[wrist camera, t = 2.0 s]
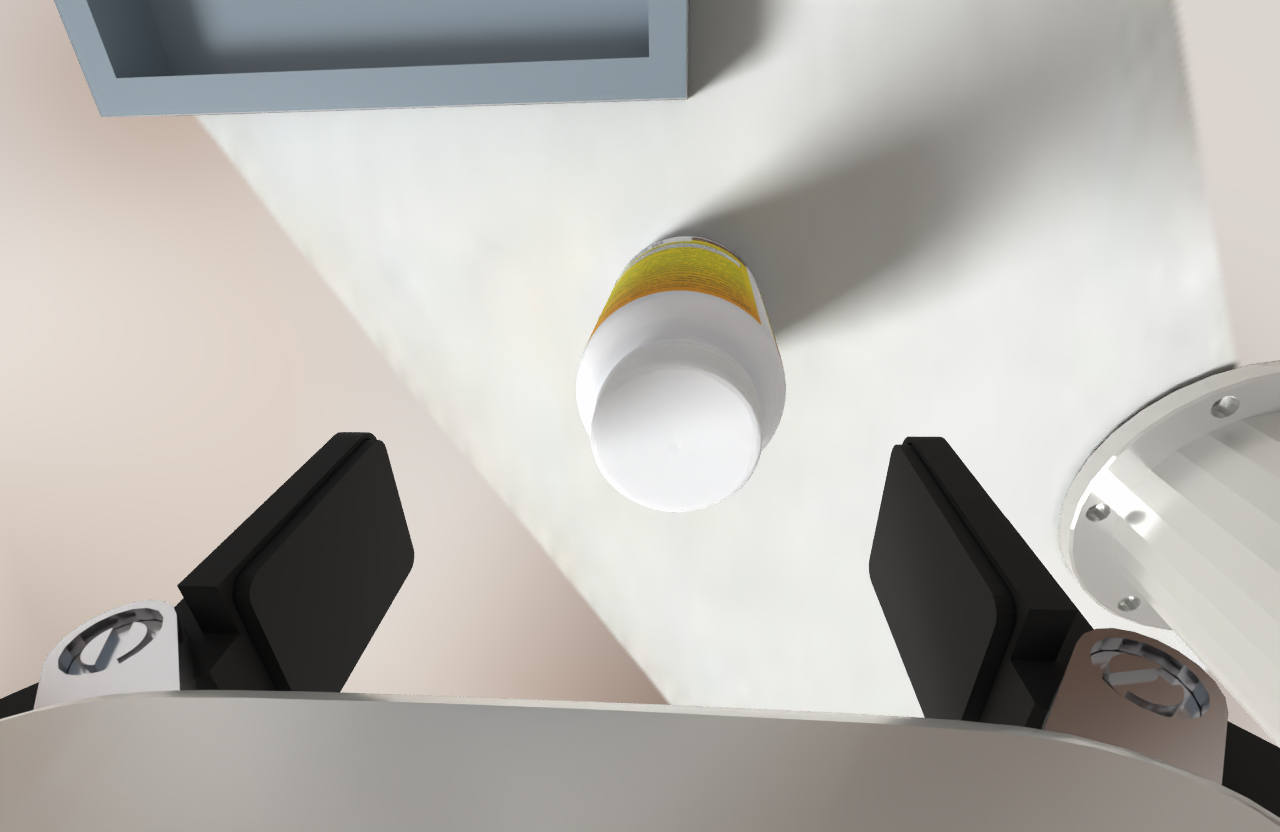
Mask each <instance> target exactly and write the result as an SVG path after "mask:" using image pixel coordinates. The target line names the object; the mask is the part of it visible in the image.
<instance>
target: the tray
mask: <svg viewBox="0 0 1280 832" xmlns="http://www.w3.org/2000/svg"><path fill="white" fill-rule="evenodd" d="M54 1H55V4H56V6H57V9H58V11H59V14H60V16H61V19H62V21H63V23H64V26H65V29H66V31H67V33H68V36H69V38H70V41H71V44H72V46H73V48H74V51H75V53H76V56H77V58H78V61H79V63H80V66H81V68H82V70H83V73H84V76H85V78H86V81H87V83H88V86H89V88H90V90H91V93H92V95H93V98H94V100H95V103H96V105H97V108H98V110H99V113H100V115H101V117H110V116H111V117H117V116H118V117H119V116H184V115H185V116H186V115H218V114H248V113H279V112H310V111H340V110H371V109H402V108H433V107H463V106H494V105H525V104H555V103H586V102H617V101H647V100H678V99H688V15H689V0H54Z"/></svg>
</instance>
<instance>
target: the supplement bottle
mask: <svg viewBox="0 0 1280 832" xmlns="http://www.w3.org/2000/svg"><path fill="white" fill-rule="evenodd" d="M785 394H786V383H785V374H784V369H783V364H782V360H781V356H780V353H779V350H778V347H777V344H776V340H775V337H774V333H773V331H772V328H771V325H770V322H769V318H768V315H767V313H766V309H765V306H764V303H763V300H762V297H761V294H760V291H759V289H758V286H757V284H756V281H755V279H754V277H753V275H752V273H751V272H750V270H749V269H748V267H747V266H746V264H745V263H744V262H743V261H742V260H741V259H740V258H739V257H738V256H737V255H736V254H735V253H733V252H732V251H731V250H729V249H728V248H726V247H725V246H723V245H721V244H719V243H717V242H714V241H711V240H709V239H705V238H701V237H695V236H680V237H673V238H668V239H665V240H662V241H659V242H657V243H654V244H652V245H650V246H649V247H647V248H645V249H644V250H642V251H641V252H640V253H638V254H637V255H636V256H635V257H634V258H633V259H632V260H631V261H630V262H629V263H628V264H627V266H626V267H625V268H624V270H623V271H622V273H621V275H620V276H619V278H618V280H617V281H616V284H615V286H614V288H613V291H612V293H611V295H610V297H609V299H608V301H607V303H606V305H605V307H604V309H603V311H602V313H601V315H600V317H599V319H598V322H597V324H596V326H595V328H594V330H593V332H592V334H591V337H590V339H589V341H588V343H587V345H586V347H585V350H584V352H583V355H582V358H581V361H580V364H579V368H578V373H577V379H576V396H577V404H578V409H579V413H580V416H581V419H582V422H583V424H584V426H585V428H586V430H587V432H588V434H589V436H590V438H591V447H592V451H593V455H594V458H595V460H596V463H597V465H598V467H599V469H600V471H601V472H602V474H603V475H604V477H605V478H606V479H607V481H608V482H609V483H610V484H611V485H612V486H613V487H614V488H615V489H617V490H618V491H619V492H620V493H621V494H623V495H624V496H626V497H627V498H629V499H630V500H632V501H634V502H636V503H639V504H641V505H643V506H646V507H649V508H652V509H656V510H661V511H668V512H688V511H695V510H701V509H704V508H708V507H711V506H713V505H716V504H718V503H720V502H722V501H724V500H726V499H727V498H729V497H730V496H731V495H733V494H734V493H736V492H737V491H738V490H739V489H740V488H741V487H742V486H743V485H744V484H745V483H746V482H747V480H748V479H749V478H750V476H751V475H752V473H753V471H754V469H755V468H756V466H757V463H758V461H759V458H760V454H761V451H762V450H763V449H764V448H765V447H766V445H767V444H768V443H769V441H770V440H771V438H772V437H773V435H774V433H775V431H776V429H777V427H778V425H779V422H780V419H781V416H782V413H783V409H784V404H785Z"/></svg>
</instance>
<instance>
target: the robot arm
mask: <svg viewBox="0 0 1280 832" xmlns="http://www.w3.org/2000/svg"><path fill="white" fill-rule="evenodd" d="M1058 533H1059V546H1060V551H1061V553H1062V556H1063V559H1064V561H1065V564H1066V566H1067V568H1068V570H1069V571H1070V572H1071V574H1072V575H1073V576H1074V578H1075V579H1076V580H1077V582H1078V583H1079V585H1080V586H1081V587H1082V589H1083V590H1084V591H1085V592H1086V593H1087V594H1088V595H1089V596H1090V597H1091V598H1092V599H1093V600H1094V601H1095V602H1096V603H1097V604H1098V605H1100V606H1101V607H1103V608H1104V609H1106V610H1107V611H1109V612H1111V613H1112V614H1114V615H1116V616H1118V617H1121V618H1124V619H1126V620H1129V621H1132V622H1134V623H1137V624H1140V625H1144V626H1149V627H1155V628H1160V629H1165V630H1173V631H1174V632H1175V633H1176V634H1177V635H1178V636H1179V637H1180V638H1181V639H1182V641H1183V642H1184V643H1185V644H1186V645H1187V646H1188V647H1189V648H1190V649H1191V650H1192V652H1193V653H1194V654H1195V655H1196V656H1197V657H1198V658H1199V659H1200V660H1201V662H1202V663H1203V664H1204V665H1205V666H1206V667H1207V668H1208V669H1209V670H1210V671H1211V673H1212V674H1213V675H1214V676H1215V677H1216V678H1217V679H1218V680H1219V681H1220V682H1221V684H1222V685H1223V686H1224V687H1225V688H1226V689H1227V690H1228V691H1229V692H1230V694H1231V695H1232V696H1233V697H1234V698H1235V699H1236V700H1237V701H1238V702H1239V703H1240V705H1241V706H1242V707H1243V708H1244V709H1245V710H1246V711H1247V712H1248V713H1249V715H1250V716H1251V717H1252V718H1253V719H1254V720H1255V721H1256V722H1257V723H1258V724H1259V726H1260V727H1261V728H1262V729H1263V730H1264V731H1265V732H1266V733H1267V734H1268V735H1269V737H1270V738H1271V739H1272V740H1273V741H1274V742H1275V743H1276V744H1277V745H1278V747H1277V746H1275V745H1273V744H1271V743H1269V742H1267V741H1265V740H1263V739H1261V738H1260V737H1258V736H1256V735H1254V734H1252V733H1250V732H1248V731H1246V730H1244V729H1242V728H1240V727H1238V726H1236V725H1234V724H1232V723H1230V722H1228V721H1227V719H1228V709H1227V704H1226V699H1225V696H1224V695H1223V693H1222V692H1221V690H1220V689H1219V687H1218V686H1217V684H1216V683H1215V681H1214V680H1213V679H1212V678H1211V677H1210V676H1209V675H1208V674H1207V673H1206V672H1205V671H1204V670H1203V669H1202V668H1201V667H1200V666H1199V665H1197V664H1196V663H1194V662H1193V661H1192V660H1190V659H1189V658H1187V657H1186V656H1185V655H1183V654H1182V653H1180V652H1179V651H1177V650H1175V649H1173V648H1171V647H1169V646H1167V645H1166V644H1164V643H1162V642H1160V641H1158V640H1156V639H1153V638H1150V637H1147V636H1144V635H1141V634H1139V633H1136V632H1132V631H1126V630H1121V629H1115V628H1105V629H1095V630H1094V629H1093V628H1092V627H1091V625H1090V624H1089V623H1088V622H1087V620H1086V619H1085V618H1084V616H1083V615H1082V614H1081V613H1080V611H1079V610H1078V609H1077V607H1076V606H1075V605H1074V604H1073V602H1072V601H1071V600H1070V598H1069V597H1068V596H1067V595H1066V593H1065V592H1064V591H1063V589H1062V588H1061V587H1060V586H1059V584H1058V583H1057V582H1056V580H1055V579H1054V578H1053V577H1052V575H1051V574H1050V573H1049V572H1048V570H1047V569H1046V568H1045V566H1044V565H1043V564H1042V563H1041V561H1040V560H1039V559H1038V557H1037V556H1036V555H1035V554H1034V552H1033V551H1032V550H1031V548H1030V547H1029V546H1028V545H1027V543H1026V542H1025V541H1024V539H1023V538H1022V537H1021V536H1020V534H1019V533H1018V532H1017V530H1016V529H1015V528H1014V527H1013V525H1012V524H1011V523H1010V521H1009V520H1008V519H1007V518H1006V517H1005V516H1004V514H1003V513H1002V512H1001V511H1000V509H999V508H998V507H997V505H996V504H995V503H994V502H993V500H992V499H991V498H990V496H989V495H988V494H987V493H986V491H985V490H984V489H983V487H982V486H981V485H980V484H979V482H978V481H977V480H976V478H975V477H974V476H973V475H972V473H971V472H970V471H969V469H968V468H967V467H966V466H965V464H964V463H963V462H962V460H961V459H960V458H959V457H958V455H957V454H956V453H955V451H954V450H953V449H952V448H951V446H950V445H949V444H948V443H947V441H946V440H945V439H944V438H943V437H907V438H905V440H904V442H903V444H902V445H895V446H894V447H893V449H892V453H891V457H890V462H889V467H888V472H887V477H886V482H885V487H884V491H883V496H882V501H881V506H880V511H879V516H878V521H877V526H876V530H875V535H874V540H873V545H872V550H871V555H870V560H869V573H870V579H871V582H872V584H873V587H874V590H875V592H876V595H877V597H878V600H879V602H880V605H881V607H882V610H883V612H884V615H885V617H886V620H887V623H888V625H889V628H890V630H891V633H892V635H893V638H894V640H895V643H896V645H897V648H898V650H899V653H900V656H901V658H902V661H903V663H904V666H905V668H906V671H907V673H908V676H909V678H910V681H911V683H912V686H913V689H914V691H915V694H916V696H917V699H918V701H919V704H920V706H921V709H922V711H923V714H924V716H925V718H916V717H900V716H883V715H867V714H851V713H832V712H810V711H789V710H767V709H745V708H723V707H701V706H679V705H656V704H631V703H607V702H583V701H558V700H557V701H555V700H531V699H507V698H480V697H453V696H451V697H450V696H424V695H395V694H394V695H393V694H365V693H340V691H341V690H342V688H343V686H344V685H345V683H346V681H347V679H348V677H349V676H350V674H351V672H352V671H353V669H354V667H355V666H356V664H357V662H358V660H359V659H360V657H361V655H362V654H363V652H364V650H365V648H366V647H367V645H368V643H369V641H370V640H371V638H372V636H373V635H374V633H375V631H376V629H377V628H378V626H379V624H380V623H381V621H382V619H383V617H384V616H385V614H386V612H387V610H388V609H389V607H390V605H391V604H392V602H393V600H394V598H395V596H396V595H397V593H398V591H399V590H400V588H401V586H402V585H403V583H404V581H405V579H406V578H407V576H408V574H409V573H410V571H411V568H412V566H413V562H414V549H413V545H412V542H411V538H410V534H409V531H408V527H407V524H406V520H405V516H404V512H403V509H402V505H401V501H400V497H399V494H398V490H397V487H396V483H395V479H394V475H393V472H392V468H391V464H390V461H389V457H388V453H387V450H386V447H385V444H384V443H383V442H382V441H380V440H377V439H376V437H375V436H374V435H373V434H371V433H363V432H362V433H360V432H353V433H352V432H341V433H337V434H336V435H334V436H333V437H332V438H331V439H330V440H329V441H328V442H327V443H326V444H325V445H324V446H323V447H322V448H321V449H320V450H319V451H318V452H317V453H315V454H314V455H313V456H312V457H311V458H310V459H309V460H308V461H307V462H306V463H305V464H304V465H303V466H302V467H301V468H300V469H299V470H298V471H297V472H296V473H295V474H293V476H291V477H290V478H289V479H288V480H287V481H286V482H285V483H284V484H283V485H282V486H281V487H280V488H279V489H278V490H277V491H276V492H275V493H274V494H273V495H271V496H270V497H269V498H268V499H267V500H266V501H265V502H264V503H263V504H262V505H261V506H260V507H259V508H258V509H257V510H256V511H255V512H254V513H253V514H252V515H251V516H250V517H248V518H247V519H246V520H245V521H244V522H243V523H242V524H241V525H240V526H239V527H238V528H237V529H236V530H235V531H234V532H233V533H232V534H231V535H230V536H229V537H228V538H227V539H225V540H224V541H223V542H222V543H221V544H220V545H219V546H218V547H217V548H216V549H215V550H214V551H213V552H212V553H211V554H210V555H209V556H208V557H207V558H206V559H205V560H203V561H202V562H201V563H200V564H199V565H198V566H197V567H196V568H195V569H194V570H193V571H192V572H191V573H190V574H189V575H188V576H187V577H186V578H185V579H184V580H183V581H182V582H181V583H179V584H178V588H179V590H180V591H181V593H182V595H183V597H184V598H183V599H182V600H181V601H180V602H179V603H178V604H177V606H175V607H173V606H172V605H170V604H168V603H166V602H164V601H155V600H147V601H140V602H133V603H130V604H127V605H123V606H120V607H117V608H114V609H112V610H109V611H107V612H105V613H103V614H101V615H98V616H96V617H94V618H92V619H91V620H89V621H87V622H86V623H84V624H82V625H81V626H79V627H77V628H76V629H74V630H73V631H72V632H71V633H70V634H68V635H67V636H66V637H64V638H63V639H62V640H61V641H60V642H59V643H58V644H57V645H56V646H55V647H54V648H53V650H52V651H51V652H50V653H49V654H48V656H47V658H46V660H45V662H44V664H43V667H42V671H41V676H40V680H39V682H38V683H36V684H34V685H31V686H29V687H27V688H24V689H22V690H20V691H18V692H15V693H13V694H11V695H9V696H6V697H4V698H2V699H0V832H1280V360H1279V361H1272V362H1265V363H1258V364H1251V365H1247V366H1244V367H1240V368H1237V369H1233V370H1229V371H1226V372H1222V373H1219V374H1215V375H1212V376H1209V377H1207V378H1205V379H1202V380H1200V381H1198V382H1195V383H1193V384H1191V385H1188V386H1186V387H1183V388H1181V389H1179V390H1176V391H1174V392H1172V393H1171V394H1169V395H1167V396H1166V397H1164V398H1162V399H1160V400H1159V401H1157V402H1155V403H1154V404H1152V405H1150V406H1148V407H1147V408H1145V409H1143V410H1142V411H1140V412H1139V413H1138V414H1136V415H1135V416H1134V417H1132V418H1131V419H1130V420H1129V421H1127V422H1126V423H1125V424H1123V425H1122V426H1121V427H1119V428H1118V429H1117V430H1116V431H1114V432H1113V433H1112V434H1111V435H1110V436H1109V437H1108V438H1107V439H1106V440H1105V441H1104V442H1103V443H1102V444H1101V445H1100V446H1099V447H1098V448H1097V449H1096V450H1095V452H1094V453H1093V454H1092V455H1091V456H1090V457H1089V458H1088V460H1087V461H1086V463H1085V464H1084V465H1083V467H1082V468H1081V470H1080V471H1079V473H1078V474H1077V476H1076V477H1075V478H1074V480H1073V482H1072V484H1071V486H1070V488H1069V491H1068V493H1067V495H1066V498H1065V500H1064V502H1063V504H1062V509H1061V514H1060V520H1059V525H1058Z"/></svg>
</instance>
